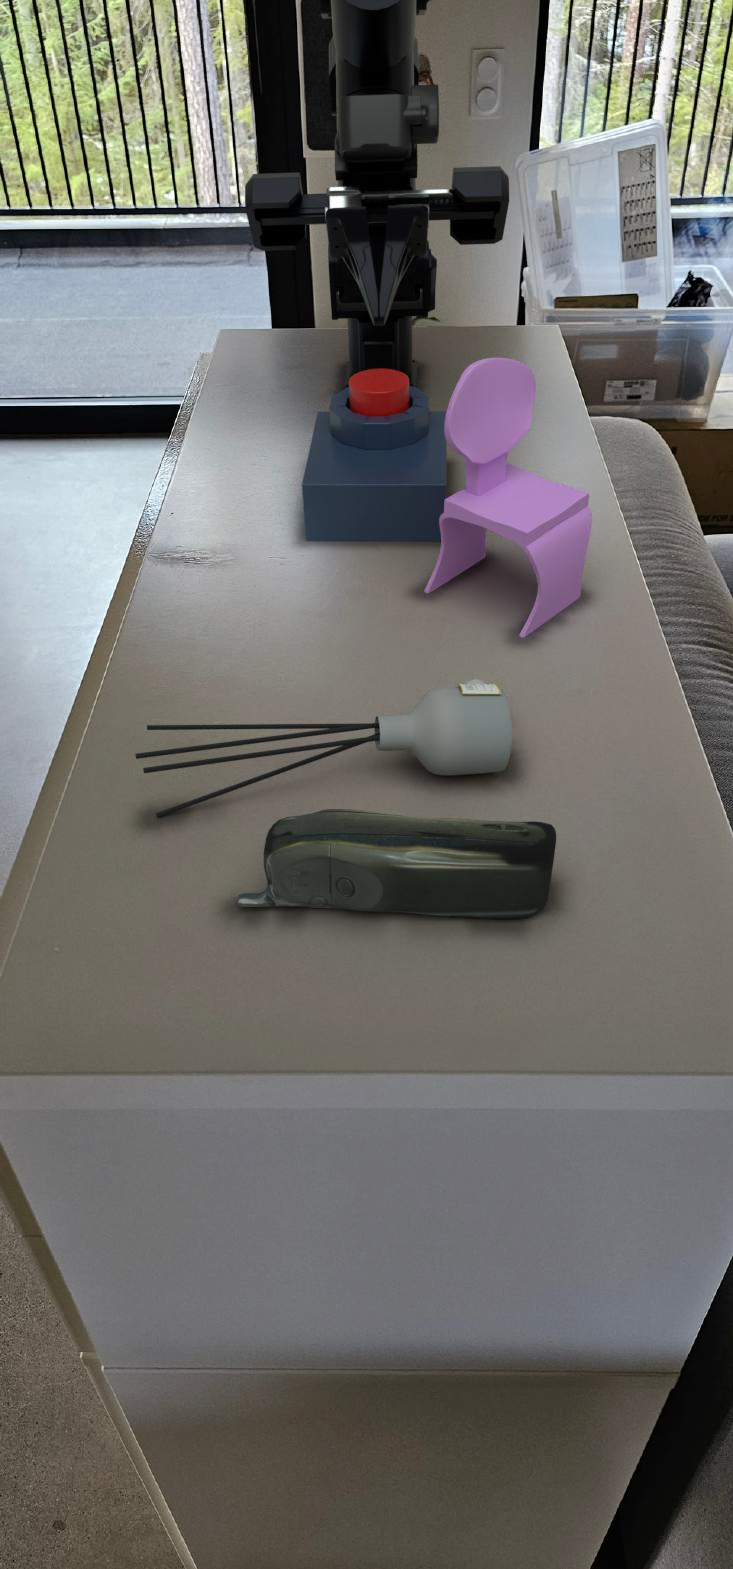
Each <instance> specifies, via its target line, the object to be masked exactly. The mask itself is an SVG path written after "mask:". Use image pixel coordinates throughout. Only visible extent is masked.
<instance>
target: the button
mask: <svg viewBox="0 0 733 1569" xmlns="http://www.w3.org/2000/svg"><path fill="white" fill-rule="evenodd" d="M349 396H350V409H351V411H352V412H353V413H356V414H360V415H364V416H368V417H387V416H391V415H395V414H399V413H403V412H405V411H406V410H408V409H409V378H408V376H407V375H406V374H404V373H402V372H400V371H397V370H392V369H370V370H365V371H361V372H359V373H356V374H354V375H353V376H352V377H351V378H350V380H349Z"/></svg>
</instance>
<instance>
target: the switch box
mask: <svg viewBox="0 0 733 1569" xmlns="http://www.w3.org/2000/svg"><path fill="white" fill-rule="evenodd" d="M328 409H329V410H328V411H317V413H316V418H315V423H314V428H313V430H312V431H313V432H312V437H311V441H310V446H309V450H308V451H309V452H308V455H307V460H306V464H305V469H304V473H303V478H302V481H301V482H302V483H301V491H302V492H301V493H302V504H303V519H304V520H303V521H304V532H305V542H342V543H343V542H344V543H345V542H350V543H351V542H353V543H355V542H358V543H359V542H360V543H361V542H365V543H366V542H368V543H369V542H370V543H371V542H372V543H376V542H378V543H379V542H382V543H383V542H384V543H385V542H386V543H388V542H389V543H393V542H395V543H397V542H398V543H399V542H400V543H410V542H411V543H413V542H414V543H441V532H440V525H439V518H440V516H441V514H443V513H444V500H445V499H447V448H448V446H447V445H448V444H447V441H446V438H445V432H444V425H445V417H446V412H447V410H430V396H429V395H428V394H426V393H425V392H423V391H422V390H421V389H419V388H418V387H417V386H416V387H412V386H409V409H408V410H406V411H405V412H403V413H399V414H395V415H391V416H387V417H368V416H364V415H360V414H356V413H353V412H352V411H351V409H350V396H349V387H348V388H345V389H344V390H343V389H342V390H340V391H339V392H337V393H335V394H334V395H333V396H331V398H330V403H329V408H328Z"/></svg>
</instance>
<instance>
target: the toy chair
mask: <svg viewBox="0 0 733 1569" xmlns="http://www.w3.org/2000/svg"><path fill="white" fill-rule="evenodd" d="M535 396H536V378H535V375H534V373H533V371H532V369H531V368H530V367H529V366H528V365H527V364H525V363H522V362H521V361H518V360H515V359H512V358H506V357H488V358H482V359H479V360H477V361H474V362H473V363H470V364H469V365H468V366H467V367H466V368H465V370H463V372H462V373H461V375H460V377H459V379H458V381H457V383H456V384H455V388H454V390H453V391H452V394H451V397H450V400H449V401H448V402H449V403H448V405H447V409H446V411H447V412H446V417H445V425H444V432H445V438H446V441H447V445H448V447H449V448H450V449H451V450H452V451H453V452H454V453H456V454H457V455H459V456H460V457H462V458H463V459H464V472H465V473H464V474H465V485H466V486H465V488H463V489H461V490H458V491H457V492H455V493H454V494H452V495H450V496H448V497H446V499H445V500H444V513H443V514H441V516H440V518H439V525H440V532H441V542H440V550H439V554H438V557H437V561H436V563H435V566H434V569H433V571H432V573H431V575H430V577H429V579H428V581H427V584H426V586H425V587H424V591H423V593H425V594H427V595H429V594H430V593H432V592H433V591H435V590H436V589H439V588H440V587H442V586H443V585H445V584H446V583H448V582H450V581H451V580H452V579H454V578H456V577H457V576H458V575H460V574H462V573H463V572H465V571H466V570H468V569H469V568H471V567H473V566H474V565H475V564H478V563H479V562H480V561H482V560H483V559H485V558H486V557H487V549H486V536H487V535H486V534H487V531H488V530H489V531H491V532H492V533H495V534H497V535H499V536H500V537H502V538H504V539H506V540H507V541H510V542H512V543H514V544H516V545H518V546H519V547H520V548H521V549H522V550H523V551H524V552H525V554H526V556H527V558H528V560H529V562H530V564H531V566H532V569H533V571H534V574H535V576H536V582H537V594H536V598H535V602H534V603H533V606H532V609H531V610H530V614H529V616H528V617H527V620H526V621H525V623H524V626H523V627H522V629H521V631H520V633H519V634H518V636H519V638H522V639H524V638H526V637H527V636H529V635H530V634H532V632H534V631H535V630H537V629H538V628H540V627H541V626H542V625H544V624H545V623H547V622H548V621H549V620H551V619H552V618H554V617H555V616H556V615H557V614H559V613H560V612H562V611H563V610H565V609H566V608H567V607H568V606H571V604H572V603H574V602H575V601H577V600H578V599H580V598H581V596H582V595H581V593H582V592H581V591H582V581H583V572H584V566H585V561H586V556H587V551H588V547H589V541H590V536H591V532H592V526H593V525H592V524H593V516H592V512H591V510H590V508H589V499H590V493H589V492H588V491H587V492H586V491H584V490H581V489H578V488H575V487H573V486H570V485H566V484H563V483H558V482H555V481H552V480H550V479H547V478H544V477H541V476H539V475H537V474H534V473H533V472H530V471H528V470H526V469H524V468H521V467H519V466H515V465H513V464H510V463H507V462H508V461H507V460H508V456H509V451H511V450H512V449H513V448H515V447H516V446H517V445H518V444H519V442H520V441H522V439H523V438H525V436H526V435H527V434H528V433H529V431H530V430H531V426H532V418H533V414H534V413H533V412H534V407H535V398H536V397H535Z"/></svg>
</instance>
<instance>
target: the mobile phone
mask: <svg viewBox="0 0 733 1569" xmlns="http://www.w3.org/2000/svg"><path fill="white" fill-rule="evenodd" d="M556 846H557V830H556V828H555V827H554V826H553V824H550V823H547V822H542V821H536V820H535V821H534V820H533V821H500V820H477V819H471V818H447V817H444V818H443V817H414V816H406V815H399V814H393V813H392V814H390V813H381V812H373V811H366V810H363V809H362V810H361V809H348V808H328V809H322V810H319V811H315V812H311V813H306V814H301V815H300V814H299V815H293V816H286V817H283V818H280V819H278V820H277V821H276V822H274V823H273V824H272V825H271V826H270V828H269V829H268V832H267V835H266V837H265V842H264V847H263V870H264V875H265V878H266V881H267V887H266V889H265V890H264V891H262V892H243V893H240V894H238V897H237V902H238V906H239V907H241V908H245V907H246V908H250V907H251V908H255V907H256V908H258V907H260V908H261V907H263V908H264V907H305V908H307V907H309V908H313V909H339V910H340V909H342V910H347V911H355V912H373V913H374V912H377V913H379V912H380V913H409V914H418V915H429V916H440V917H441V916H443V917H459V918H460V917H461V918H477V919H478V918H479V919H480V918H481V919H498V920H499V919H500V920H502V919H503V920H512V919H520V918H521V919H522V918H528V917H532V916H533V915H536V914H538V913H539V912H541V911H542V910H543V909H544V908H545V906H546V905H547V904H548V901H549V895H550V888H551V882H552V874H553V868H554V862H555V854H556Z"/></svg>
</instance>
